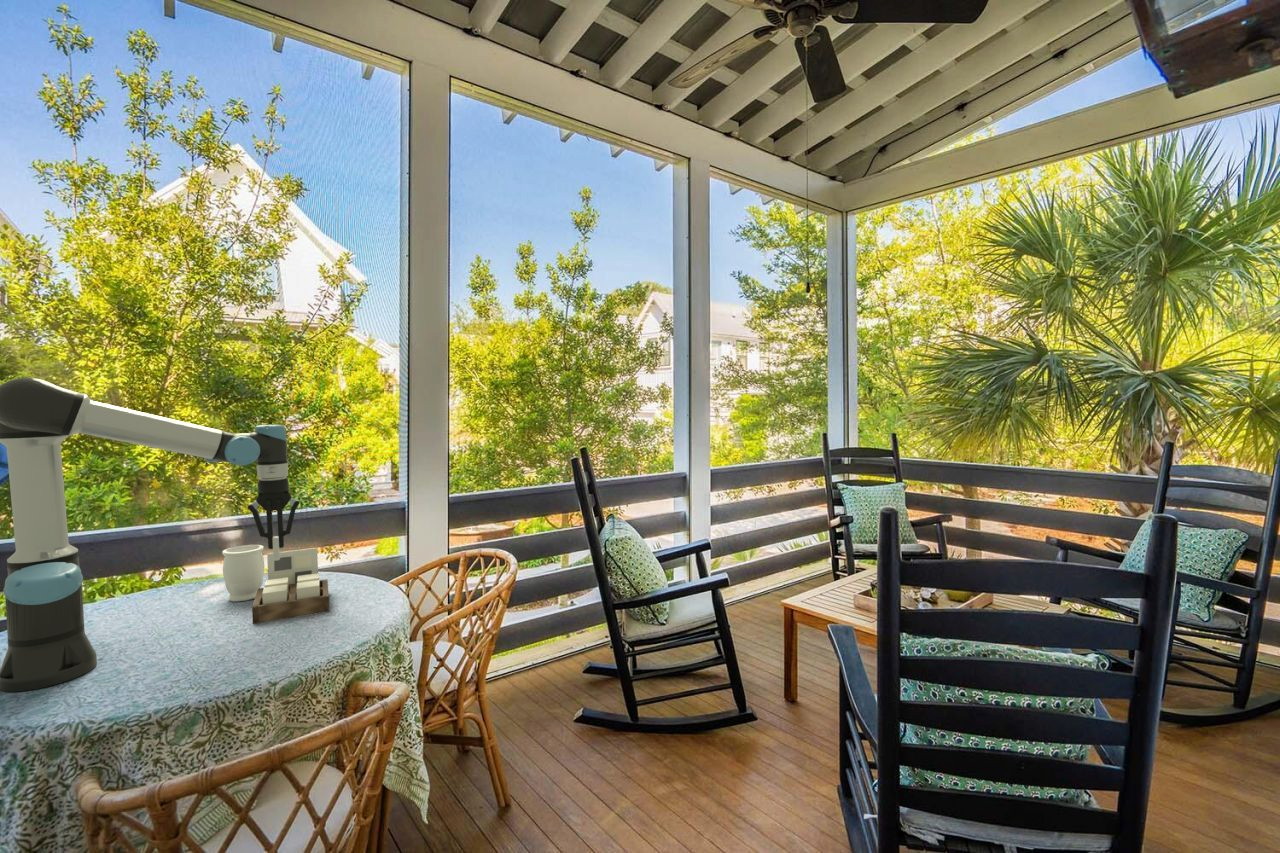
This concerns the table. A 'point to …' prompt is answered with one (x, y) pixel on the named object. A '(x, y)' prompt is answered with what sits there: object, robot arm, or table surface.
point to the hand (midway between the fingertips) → (276, 559)
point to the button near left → (275, 594)
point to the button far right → (308, 578)
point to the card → (293, 564)
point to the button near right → (308, 589)
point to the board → (290, 605)
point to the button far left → (277, 582)
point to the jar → (243, 571)
